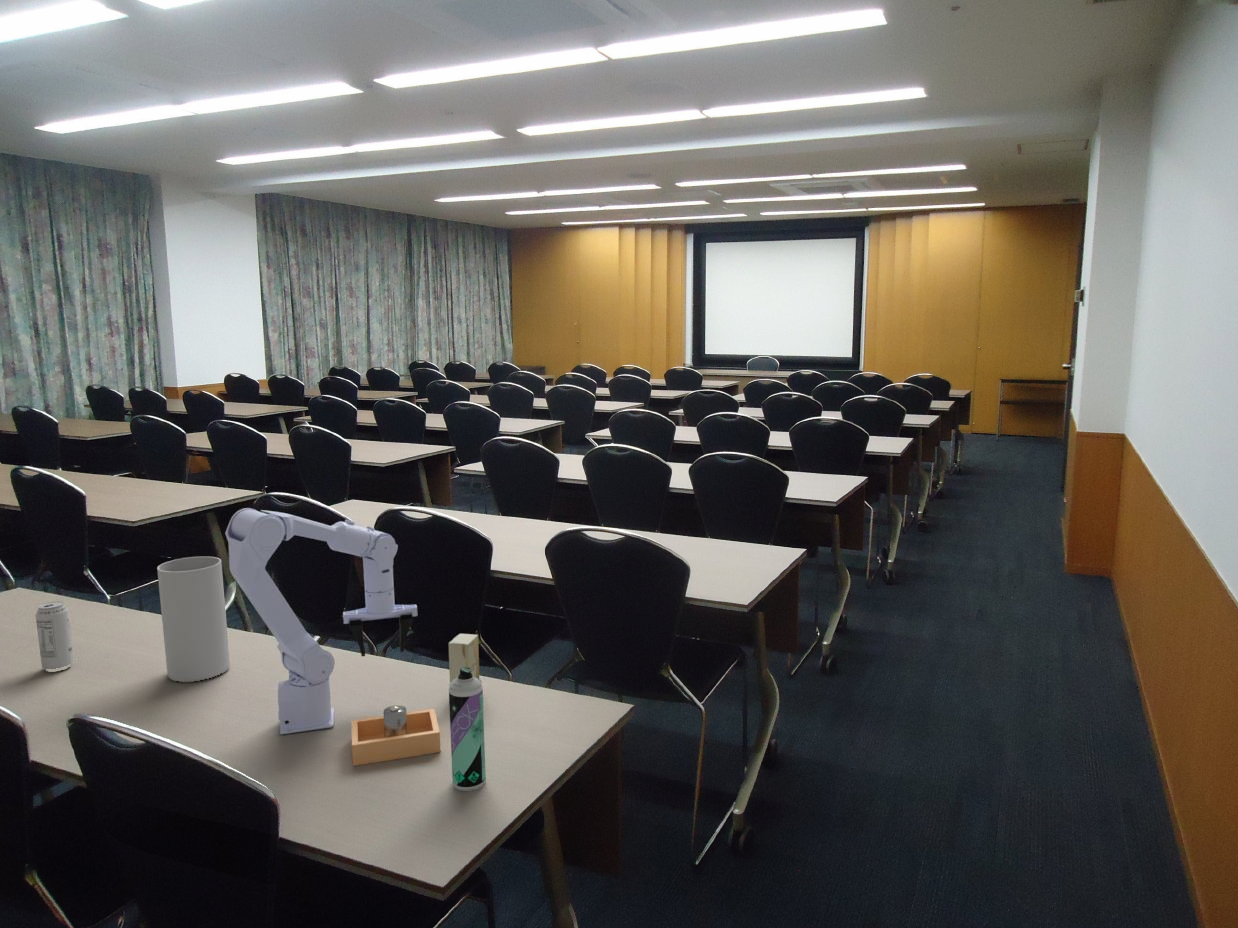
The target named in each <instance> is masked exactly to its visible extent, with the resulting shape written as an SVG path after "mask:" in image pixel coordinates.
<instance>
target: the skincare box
mask: <svg viewBox="0 0 1238 928" xmlns="http://www.w3.org/2000/svg"><path fill="white" fill-rule="evenodd" d="M479 651H480V650H479V634H473V633H472V634H470V633H459V634H458V635H456V636H455V637H454V638H452V640H450V641H449V642H448V668H449V669H448V670H449V683H450V682H451V681H453V680H454V679H456V678H457V676H458V675H459V674H460V669H461V668H464V667H467V668H470V671H471V673H472V674H473V675H474V677H476V678H479V679H480V657H479V656H480V655H479Z"/></svg>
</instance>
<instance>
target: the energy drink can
mask: <svg viewBox="0 0 1238 928" xmlns="http://www.w3.org/2000/svg"><path fill="white" fill-rule="evenodd" d="M35 620H36V629H37V630H36V631H37V638H38V645H39V655H40V664H41V668H42V669H43V668H44V669H43V670H45V669H56V668H61V667H64V666H67V665H69V664H71V663H72V662H73V663H74V662H75V659H74V651H73V650H74V649H73V643H72V634H71V626H70V617H69V609H68V608H67V606H66V605H65V603H64V601H50V602H44V603H42V604H39V605H38V607H37V611H36V613H35ZM73 663H72V664H73ZM72 664H71V665H72Z"/></svg>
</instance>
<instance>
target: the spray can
mask: <svg viewBox="0 0 1238 928" xmlns="http://www.w3.org/2000/svg"><path fill="white" fill-rule="evenodd" d="M448 685H449V686H448V701H449V704H448V705H449V726H450V727H449V728H450V730H449V731H450V748H451V749H450V752H451V773H452V774H451V775H452V786H453V788H454V789H455V790H457V791H460V790H461V791H460V792H472V790H473V791H476V790H479V789H480V788H482V787H484V786H485V784H486V780H487V777H486V776H487V774H486V750H485V749H486V748H485V747H486V746H485V721H484V720H485V717H484V693H483V692H484V691H483V689H484V688H483V687H484V686H483V681H482V680H481V679H480V677H479V678H476V677H474V675H473V674H472V673H471V671H470V668H467V667H464V668H461V669H460V674H459V675H458V676H457V678H456V679H454V680H453V681H451V682H450V681H449V684H448ZM463 790H464V791H463Z"/></svg>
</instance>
